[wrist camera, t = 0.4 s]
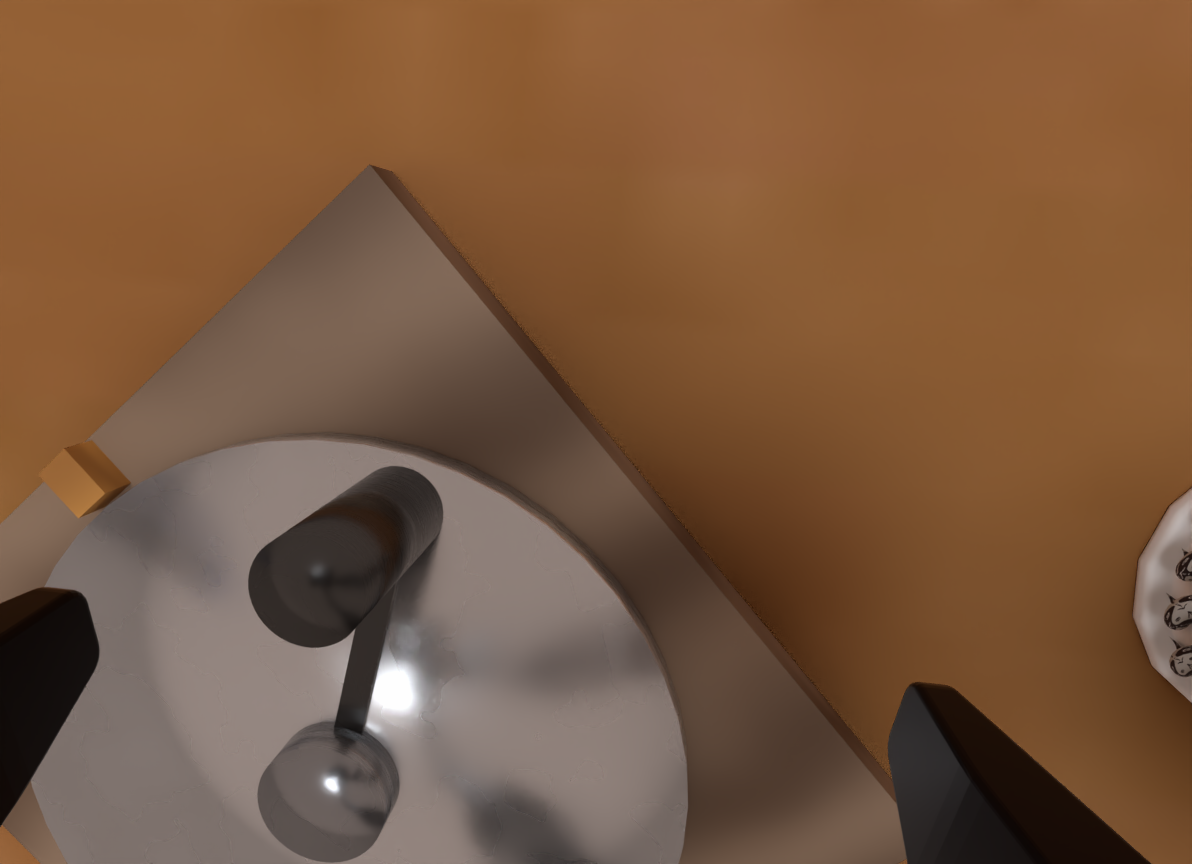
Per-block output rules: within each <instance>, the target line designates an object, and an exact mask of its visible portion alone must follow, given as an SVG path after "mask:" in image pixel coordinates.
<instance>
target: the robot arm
mask: <svg viewBox="0 0 1192 864" xmlns="http://www.w3.org/2000/svg"><path fill="white" fill-rule="evenodd" d="M99 656H100V646H99V642H98V638H97V634H96V631H95V627H94V623H93V620H92V616H91V612H90V609H89V605H88V602H87V599H86V597H85V596H84V595H83V594H82V593H81V592H79V591H76V590H71V589H62V588H53V587H40V588H36V589H33V590H31V591H28V592H26V593H24V594H21V595H19V596H16V597H14V598H12V599H9V600H7V601H4V602H2V603H0V827H1V825H2V824H3V822H4V821H5V819H6V818H7V816H8V815H9V813H10V812H11V811H12V809H13V808H14V806H15V805H16V803H17V802H18V800H19V798H20V797H21V795H22V794H23V792H24V790H25V789H26V787H27V786H28V784H29V782H30V781H31V779H32V777H33V776H34V774H35V772H36V771H37V769H38V767H39V766H40V764H41V762H42V760H43V759H44V757H45V755H46V754H47V752H48V750H49V748H50V747H51V745H52V743H53V742H54V740H55V738H56V736H57V735H58V733H59V731H60V730H61V728H62V726H63V724H64V723H65V721H66V719H67V718H68V716H69V714H70V713H71V711H72V709H73V707H74V706H75V704H76V702H77V701H78V699H79V697H80V695H81V694H82V692H83V690H84V689H85V687H86V685H87V683H88V682H89V680H90V678H91V677H92V675H93V673H94V671H95V669H96V667H97V664H98V661H99ZM888 757H889V764H890V769H891V775H892V780H893V786H894V791H895V797H896V802H897V808H898V814H899V819H900V825H901V830H902V836H903V841H904V847H905V852H906V858H907V863H908V864H1151V863H1150V862H1149V861H1148V860H1146V859H1145V858H1144V857H1143V856H1142V855H1141V854H1140V853H1139V852H1138V851H1136V850H1135V849H1134V848H1133V847H1132V846H1131V845H1130V844H1129V843H1127V842H1126V841H1125V840H1124V839H1123V838H1122V837H1121V836H1120V835H1118V834H1117V833H1116V832H1115V831H1114V830H1113V829H1112V828H1111V827H1109V826H1108V825H1107V824H1106V823H1105V822H1104V821H1103V820H1102V819H1100V818H1099V817H1098V816H1097V815H1096V814H1095V813H1094V812H1093V811H1091V810H1090V809H1089V808H1088V807H1087V806H1086V805H1085V804H1084V803H1082V802H1081V801H1080V800H1079V799H1078V798H1077V797H1076V796H1075V795H1074V794H1072V793H1071V792H1070V791H1069V790H1068V789H1067V788H1066V787H1065V786H1063V785H1062V784H1061V783H1060V782H1059V781H1058V780H1057V779H1056V778H1054V777H1053V776H1052V775H1051V774H1050V773H1049V772H1048V771H1047V770H1045V769H1044V768H1043V767H1042V766H1041V765H1040V764H1039V763H1038V762H1036V761H1035V760H1034V759H1033V758H1032V757H1031V756H1030V755H1029V754H1027V753H1026V752H1025V751H1024V750H1023V749H1022V748H1021V747H1020V746H1019V745H1017V744H1016V743H1015V742H1014V741H1013V740H1012V739H1011V738H1010V737H1008V736H1007V735H1006V734H1005V733H1004V732H1003V731H1002V730H1001V729H999V728H998V727H997V726H996V725H995V724H994V723H993V722H992V721H990V720H989V719H988V718H987V717H986V716H985V715H984V714H983V713H981V712H980V711H979V710H978V709H977V708H976V707H975V706H974V705H972V704H971V703H970V702H969V701H968V700H967V699H966V698H965V697H963V696H962V695H961V694H960V693H959V692H958V691H956V690H955V689H954V688H952V687H950V686H947V685H941V684H932V683H923V682H915V683H912V684H910V685H909V686H908V688H907V689H906V691H905V693H904V696H903V699H902V702H901V704H900V707H899V710H898V713H897V716H896V718H895V721H894V724H893V727H892V729H891V732H890V736H889V741H888Z"/></svg>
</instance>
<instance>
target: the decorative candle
mask: <svg viewBox="0 0 1192 864" xmlns="http://www.w3.org/2000/svg"><path fill="white" fill-rule="evenodd" d="M1133 618H1134V621H1135V623H1136V626H1137V629H1138V631H1139V634H1140V637H1141V639H1142V642H1143V644H1144V647H1145V650H1146V652H1147V655H1148V658H1149V660H1150V663H1151V665H1152V667H1154V668H1155V669H1156V670H1157V671H1158V672H1159V673H1160V674H1161V675H1162V676H1163V677H1164V678H1165V679H1166V680H1167V681H1169V682H1170V683H1171V684H1172V685H1173V686H1174V687H1175V688H1176V689H1177V690H1178V691H1179V692H1180V693H1181V694H1183V695H1184V696H1185V697H1186V698H1187V699H1188V700H1189V701H1190V702H1191V703H1192V488H1191V489H1189V490H1188V491H1187V492H1186V493H1185V494H1183V495H1182V496H1181V497H1180V498H1178V499H1177V500H1176V501H1175V502H1174V503H1172V504H1171V505H1170V506H1169V508H1168V509H1167V511H1166V513H1165V514H1164V516H1163V518H1162V520H1161V521H1160V523H1159V525H1158V527H1157V528H1156V530H1155V532H1154V533H1153V535H1152V537H1151V539H1150V540H1149V542H1148V544H1147V546H1146V547H1145V549H1144V551H1143V553H1142V554H1141V556H1140V558H1139V559H1138V568H1137V577H1136V587H1135V597H1134V606H1133Z"/></svg>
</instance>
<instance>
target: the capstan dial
mask: <svg viewBox="0 0 1192 864" xmlns="http://www.w3.org/2000/svg"><path fill="white" fill-rule="evenodd" d="M45 587H53V588H62V589H71V590H76V591H79V592H81V593H82V594H83V595H84V596H85V597H86V599H87V602H88V605H89V609H90V612H91V616H92V620H93V623H94V627H95V631H96V634H97V638H98V642H99V646H100V656H99V661H98V664H97V667H96V669H95V671H94V673H93V675H92V677H91V678H90V680H89V682H88V683H87V685H86V687H85V689H84V690H83V692H82V694H81V695H80V697H79V699H78V701H77V702H76V704H75V706H74V707H73V709H72V711H71V713H70V714H69V716H68V718H67V719H66V721H65V723H64V724H63V726H62V728H61V730H60V731H59V733H58V735H57V736H56V738H55V740H54V742H53V743H52V745H51V747H50V748H49V750H48V752H47V754H46V755H45V757H44V759H43V760H42V762H41V764H40V766H39V767H38V769H37V771H36V772H35V774H34V776H33V777H32V779H31V784H32V788H33V790H34V793H35V796H36V798H37V801H38V803H39V806H40V809H41V811H42V814H43V816H44V819H45V822H46V824H47V826H48V828H49V830H50V832H51V834H52V836H53V838H54V840H55V841H56V843H57V845H58V847H59V849H60V851H61V853H62V855H63V857H64V859H65V860H66V862H67V863H68V864H679V860H680V856H681V853H682V849H683V844H684V836H685V827H686V819H687V811H688V779H687V750H686V738H685V733H684V727H683V722H682V716H681V711H680V705H679V701H678V698H677V695H676V692H675V689H674V686H673V683H672V680H671V677H670V674H669V671H668V668H667V665H666V662H665V659H664V657H663V655H662V653H661V651H660V649H659V647H658V645H657V643H656V641H655V639H654V637H653V635H652V633H651V631H650V629H649V627H648V625H647V623H646V621H645V619H644V618H643V616H642V615H641V613H640V612H639V610H638V609H637V607H636V606H635V604H634V603H633V601H632V600H631V598H630V597H629V595H628V594H627V592H626V591H625V589H624V588H623V587H622V585H621V584H620V582H619V581H618V580H617V579H616V577H615V576H614V575H613V574H612V573H611V572H610V571H609V569H608V568H607V567H606V566H605V565H604V564H603V563H602V562H601V560H600V559H599V558H598V557H597V556H596V555H595V554H594V552H593V551H592V550H591V549H590V548H589V547H588V546H587V545H586V544H585V543H584V542H583V541H582V540H580V539H579V538H578V537H577V536H576V535H575V534H574V533H573V532H571V531H570V530H569V529H568V528H567V527H566V526H565V525H564V524H562V523H561V522H560V521H559V520H558V519H557V518H556V517H554V516H553V515H552V514H551V513H549V512H548V511H546V510H545V509H543V508H542V507H541V506H539V505H538V504H536V503H535V502H533V501H532V500H530V499H529V498H527V497H526V496H525V495H523V494H522V493H520V492H519V491H517V490H516V489H514V488H513V487H511V486H509V485H507V484H505V483H504V482H502V481H500V480H498V479H496V478H494V477H492V476H490V475H488V474H486V473H484V472H482V471H480V470H478V469H477V468H475V467H473V466H471V465H469V464H466V463H463V462H461V461H458V460H455V459H453V458H450V457H447V456H445V455H442V454H439V453H436V452H434V451H431V450H428V449H426V448H423V447H418V446H414V445H410V444H405V443H401V442H397V441H393V440H388V439H384V438H380V437H373V436H363V435H353V434H344V433H334V432H321V433H290V434H280V435H275V436H269V437H263V438H257V439H251V440H245V441H241V442H238V443H235V444H232V445H228V446H225V447H222V448H219V449H216V450H213V451H210V452H207V453H204V454H201V455H198V456H196V457H193V458H191V459H188V460H186V461H184V462H181V463H179V464H177V465H175V466H173V467H171V468H169V469H167V470H165V471H163V472H161V473H159V474H157V475H155V476H153V477H151V478H149V479H147V480H145V481H142V482H140V483H139V484H138V485H136V486H135V487H133V488H132V489H131V490H129V491H128V492H126V493H125V494H124V495H122V496H121V497H119V498H118V499H117V500H115V501H114V502H112V503H111V504H109V505H108V506H107V507H106V508H105V509H104V510H103V511H102V512H101V513H100V514H99V515H98V516H97V517H96V518H94V519H93V520H92V521H91V522H90V523H89V524H88V525H87V526H86V527H85V528H84V529H83V530H82V531H81V532H80V533H79V534H78V535H77V537H76V538H75V540H74V541H73V542H72V544H71V545H70V546H69V548H68V549H67V550H66V552H65V553H64V555H63V556H62V557H61V559H60V560H59V561H58V563H57V564H56V565H55V567H54V569H53V571H52V573H51V575H50V577H49V579H48V581H47V583H46V585H45Z"/></svg>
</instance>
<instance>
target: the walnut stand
mask: <svg viewBox="0 0 1192 864" xmlns="http://www.w3.org/2000/svg"><path fill="white" fill-rule="evenodd" d="M321 432H334V433H344V434H353V435H363V436H373V437H380V438H384V439H388V440H393V441H397V442H401V443H405V444H410V445H414V446H418V447H423V448H426V449H428V450H431V451H434V452H436V453H439V454H442V455H445V456H447V457H450V458H453V459H455V460H458V461H461V462H463V463H466V464H469V465H471V466H473V467H475V468H477V469H478V470H480V471H482V472H484V473H486V474H488V475H490V476H492V477H494V478H496V479H498V480H500V481H502V482H504V483H505V484H507V485H509V486H511V487H513V488H514V489H516V490H517V491H519V492H520V493H522V494H523V495H525V496H526V497H527V498H529V499H530V500H532V501H533V502H535V503H536V504H538V505H539V506H541V507H542V508H543V509H545V510H546V511H548V512H549V513H551V514H552V515H553V516H554V517H556V518H557V519H558V520H559V521H560V522H561V523H562V524H564V525H565V526H566V527H567V528H568V529H569V530H570V531H571V532H573V533H574V534H575V535H576V536H577V537H578V538H579V539H580V540H582V541H583V542H584V543H585V544H586V545H587V546H588V547H589V548H590V549H591V550H592V551H593V552H594V554H595V555H596V556H597V557H598V558H599V559H600V560H601V562H602V563H603V564H604V565H605V566H606V567H607V568H608V569H609V571H610V572H611V573H612V574H613V575H614V576H615V577H616V579H617V580H618V581H619V582H620V584H621V585H622V587H623V588H624V589H625V591H626V592H627V594H628V595H629V597H630V598H631V600H632V601H633V603H634V604H635V606H636V607H637V609H638V610H639V612H640V613H641V615H642V616H643V618H644V619H645V621H646V623H647V625H648V627H649V629H650V631H651V633H652V635H653V637H654V639H655V641H656V643H657V645H658V647H659V649H660V651H661V653H662V655H663V657H664V659H665V662H666V665H667V668H668V671H669V674H670V677H671V680H672V683H673V686H674V689H675V692H676V695H677V698H678V701H679V705H680V711H681V716H682V722H683V727H684V733H685V738H686V750H687V779H688V811H687V819H686V827H685V836H684V844H683V849H682V853H681V856H680V860H679V864H898V863H900V862H902V861H904V860H905V859H907V858H906V852H905V847H904V841H903V836H902V830H901V825H900V819H899V814H898V808H897V802H896V797H895V791H894V786H893V781H892V780H891V779H890V777H889V776H888V775H887V774H886V772H885V771H884V770H883V769H882V768H881V766H880V765H879V764H878V763H877V761H876V760H875V759H874V758H873V757H872V755H871V754H870V753H869V752H868V751H867V749H866V748H865V747H864V746H863V744H862V743H861V742H860V741H859V740H858V738H857V737H856V736H855V735H854V733H853V732H852V731H851V730H850V729H849V727H848V726H847V725H846V724H845V723H844V721H843V720H842V719H841V718H840V716H839V715H838V714H837V713H836V712H835V710H834V709H833V708H832V707H831V705H830V704H829V703H828V702H827V701H826V699H825V698H824V697H823V696H822V695H821V693H820V692H819V691H818V690H817V688H816V687H815V686H814V685H813V684H812V682H811V681H810V680H809V679H808V677H807V676H806V675H805V674H804V673H803V671H802V670H801V669H800V668H799V667H798V665H797V664H796V663H795V662H794V660H793V659H792V658H791V657H790V656H789V654H788V653H787V652H786V651H785V649H784V648H783V647H782V646H781V645H780V643H779V642H778V641H777V640H776V639H775V637H774V636H773V635H772V634H771V632H770V631H769V630H768V629H767V628H766V626H765V625H764V624H763V623H762V621H761V620H760V619H759V618H758V617H757V615H756V614H755V613H754V612H753V611H752V609H751V608H750V607H749V606H748V604H747V603H746V602H745V601H744V600H743V598H742V597H741V596H740V595H739V593H738V592H737V591H736V590H735V589H734V587H733V586H732V585H731V584H730V582H729V581H728V580H727V579H726V578H725V576H724V575H723V574H722V573H721V572H720V570H719V569H718V568H717V567H716V565H715V564H714V563H713V562H712V561H711V559H710V558H709V557H708V556H707V554H706V553H705V552H704V551H703V550H702V548H701V547H700V546H699V545H698V544H697V542H696V541H695V540H694V539H693V537H692V536H691V535H690V534H689V533H688V531H687V530H686V529H685V528H684V526H683V525H682V524H681V523H680V522H679V520H678V519H677V518H676V517H675V516H674V514H673V513H672V512H671V511H670V509H669V508H668V507H667V506H666V505H665V503H664V502H663V501H662V500H661V498H660V497H659V496H658V495H657V494H656V492H655V491H654V490H653V489H652V488H651V486H650V485H649V484H648V483H647V481H646V480H645V479H644V478H643V477H642V475H641V474H640V473H639V472H638V470H637V469H636V468H635V467H634V466H633V464H632V463H631V462H630V461H629V460H628V458H627V457H626V456H625V455H624V453H623V452H622V451H621V450H620V449H619V447H618V446H617V445H616V444H615V442H614V441H613V440H612V439H611V438H610V436H609V435H608V434H607V433H606V432H605V430H604V429H603V428H602V427H601V425H600V424H599V423H598V422H597V421H596V419H595V418H594V417H593V416H592V414H591V413H590V412H589V411H588V410H587V408H586V407H585V406H584V405H583V404H582V402H581V401H580V400H579V399H578V397H577V396H576V395H575V394H574V393H573V391H572V390H571V389H570V388H569V386H568V385H567V384H566V383H565V382H564V380H563V379H562V378H561V377H560V376H559V374H558V373H557V372H556V371H555V369H554V368H553V367H552V366H551V365H550V363H549V362H548V361H547V360H546V358H545V357H544V356H543V355H542V354H541V352H540V351H539V350H538V349H537V348H536V346H535V345H534V344H533V343H532V341H531V340H530V339H529V338H528V337H527V335H526V334H525V333H524V332H523V330H522V329H521V328H520V327H519V326H518V324H517V323H516V322H515V321H514V320H513V318H512V317H511V316H510V315H509V313H508V312H507V311H506V310H505V309H504V307H503V306H502V305H501V304H500V302H499V301H498V300H497V299H496V298H495V296H494V295H493V294H492V293H491V292H490V290H489V289H488V288H487V287H486V285H485V284H484V283H483V282H482V281H481V279H480V278H479V277H478V276H477V274H476V273H475V272H474V271H473V270H472V268H471V267H470V266H469V265H468V264H467V262H466V261H465V260H464V259H463V257H462V256H461V255H460V254H459V253H458V251H457V250H456V249H455V248H454V246H453V245H452V244H451V243H450V242H449V240H448V239H447V238H446V237H445V236H444V234H443V233H442V232H441V231H440V229H439V228H438V227H437V226H436V225H435V223H434V222H433V221H432V220H431V218H430V217H429V216H428V215H427V214H426V212H425V211H424V210H423V209H422V208H421V206H420V205H419V204H418V203H417V201H416V200H415V199H414V198H413V197H412V195H411V194H410V193H409V192H408V190H407V189H406V188H405V187H404V186H403V184H402V183H401V182H400V181H399V180H398V178H397V177H396V176H395V175H394V173H393V172H392V171H389V170H385V169H382V168H379V167H376V166H372V165H369V166H368V167H367V168H366V169H365V170H364V171H363V172H362V173H361V174H359V175H358V176H357V177H356V178H355V179H354V180H353V181H352V182H351V183H350V184H349V185H348V186H347V187H346V188H345V189H344V190H343V191H342V192H341V193H340V194H339V195H338V196H337V197H336V198H335V199H334V200H333V201H332V202H331V203H330V204H329V205H328V206H327V207H326V208H325V209H324V210H323V211H321V212H320V213H319V214H318V215H317V216H316V217H315V218H314V219H313V220H312V221H311V222H310V223H309V224H308V225H307V226H306V227H305V228H304V229H303V230H302V231H301V232H300V233H299V234H298V235H297V236H296V237H295V238H294V239H293V240H292V241H291V242H290V243H289V244H288V245H287V246H286V247H285V248H283V249H282V250H281V251H280V252H279V253H278V254H277V255H276V256H275V257H274V258H273V259H272V260H271V261H270V262H269V263H268V264H267V265H266V266H265V267H264V268H263V269H262V270H261V271H260V272H259V273H258V274H257V275H256V276H255V277H254V278H253V279H252V280H251V281H250V282H249V283H248V284H247V285H246V286H244V287H243V288H242V289H241V290H240V291H239V292H238V293H237V294H236V295H235V296H234V297H233V298H232V299H231V300H230V301H229V302H228V303H227V304H226V305H225V306H224V307H223V308H222V309H221V310H220V311H219V312H218V313H217V314H216V315H215V316H214V317H213V318H212V319H211V320H210V321H209V322H208V323H206V324H205V325H204V326H203V327H202V328H201V329H200V330H199V331H198V332H197V333H196V334H195V335H194V336H193V337H192V338H191V339H190V340H189V341H188V342H187V343H186V344H185V345H184V346H183V347H182V348H181V349H180V350H179V351H178V352H177V353H176V354H175V355H174V356H173V357H172V358H171V359H170V360H169V361H167V362H166V363H165V364H164V365H163V366H162V367H161V368H160V369H159V370H158V371H157V372H156V373H155V374H154V375H153V376H152V377H151V378H150V379H149V380H148V381H147V382H146V383H145V384H144V385H143V386H142V387H141V388H140V389H139V390H138V391H137V392H136V393H135V394H134V395H133V396H132V397H131V398H129V399H128V400H127V401H126V402H125V403H124V404H123V405H122V406H121V407H120V408H119V409H118V410H117V411H116V412H115V413H114V414H113V415H112V416H111V417H110V418H109V419H108V420H107V421H106V422H105V423H104V424H103V425H102V426H101V427H100V428H99V429H98V430H97V431H96V432H95V433H94V434H93V435H92V436H90V437H89V438H88V439H87V440H86V441H85V442H84V443H81V444H78V445H74V446H71V447H68V448H64V449H63V450H62V451H61V452H60V453H59V454H58V455H57V456H56V457H55V458H54V459H53V460H52V461H51V462H50V463H49V464H48V465H47V466H46V467H45V468H44V469H43V470H42V471H41V472H40V473H39V474H38V476H39V477H40V478H41V479H42V480H43V481H44V482H43V483H42V484H41V485H40V486H39V487H38V488H37V489H36V490H35V491H34V492H33V493H32V494H31V495H30V496H29V497H28V498H27V499H26V500H25V501H24V502H23V503H22V504H21V505H20V506H19V507H18V508H17V509H16V510H15V511H13V512H12V513H11V514H10V515H9V516H8V517H7V518H6V519H5V520H4V521H3V522H2V523H1V524H0V603H2V602H4V601H7V600H9V599H12V598H14V597H16V596H19V595H21V594H24V593H26V592H28V591H31V590H33V589H36V588H40V587H45V585H46V583H47V581H48V579H49V577H50V575H51V573H52V571H53V569H54V567H55V565H56V564H57V563H58V561H59V560H60V559H61V557H62V556H63V555H64V553H65V552H66V550H67V549H68V548H69V546H70V545H71V544H72V542H73V541H74V540H75V538H76V537H77V535H78V534H79V533H80V532H81V531H82V530H83V529H84V528H85V527H86V526H87V525H88V524H89V523H90V522H91V521H92V520H93V519H94V518H96V517H97V516H98V515H99V514H100V513H101V512H102V511H103V510H104V509H105V508H106V507H107V506H108V505H109V504H111V503H112V502H114V501H115V500H117V499H118V498H119V497H121V496H122V495H124V494H125V493H126V492H128V491H129V490H131V489H132V488H133V487H135V486H136V485H138V484H139V483H140V482H142V481H145V480H147V479H149V478H151V477H153V476H155V475H157V474H159V473H161V472H163V471H165V470H167V469H169V468H171V467H173V466H175V465H177V464H179V463H181V462H184V461H186V460H188V459H191V458H193V457H196V456H198V455H201V454H204V453H207V452H210V451H213V450H216V449H219V448H222V447H225V446H228V445H232V444H235V443H238V442H241V441H245V440H251V439H257V438H263V437H269V436H275V435H280V434H290V433H321ZM2 825H3V826H4V827H5V828H6V829H7V830H8V831H9V832H10V833H11V834H12V835H13V836H14V837H15V838H16V839H17V840H18V841H19V842H20V843H21V844H22V845H23V846H24V847H25V848H26V849H27V850H28V851H29V852H30V853H31V854H32V855H33V856H34V857H35V858H36V859H37V860H38V861H39V862H40V863H41V864H68V863H67V862H66V860H65V859H64V857H63V855H62V853H61V851H60V849H59V847H58V845H57V843H56V841H55V840H54V838H53V836H52V834H51V832H50V830H49V828H48V826H47V824H46V822H45V819H44V816H43V814H42V811H41V809H40V806H39V803H38V801H37V798H36V796H35V793H34V790H33V788H32V784H31V781H30V782H29V784H28V786H27V787H26V789H25V790H24V792H23V794H22V795H21V797H20V798H19V800H18V802H17V803H16V805H15V806H14V808H13V809H12V811H11V812H10V813H9V815H8V816H7V818H6V819H5V821H4V822H3V824H2Z"/></svg>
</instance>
